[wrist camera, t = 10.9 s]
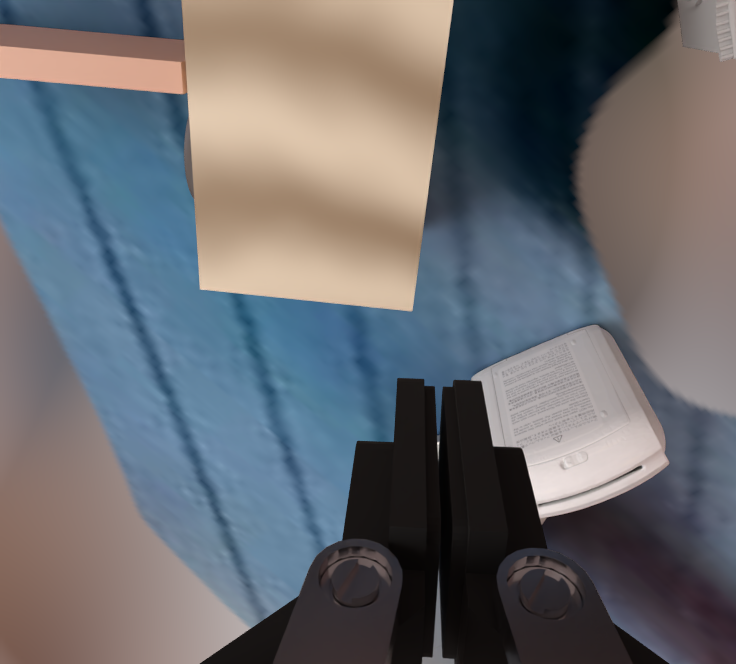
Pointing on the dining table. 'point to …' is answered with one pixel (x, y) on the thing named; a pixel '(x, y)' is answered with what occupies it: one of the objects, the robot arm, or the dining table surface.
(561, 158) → the dining table surface
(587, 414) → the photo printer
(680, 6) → the garden wall model
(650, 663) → the robot arm
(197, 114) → the wooden cabinet
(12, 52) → the door
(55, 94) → the dining table surface
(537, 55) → the dining table surface
